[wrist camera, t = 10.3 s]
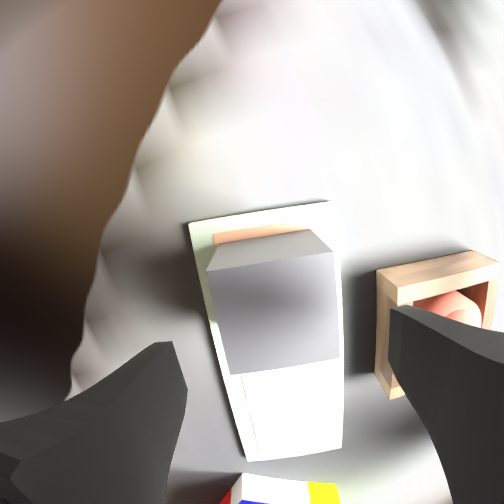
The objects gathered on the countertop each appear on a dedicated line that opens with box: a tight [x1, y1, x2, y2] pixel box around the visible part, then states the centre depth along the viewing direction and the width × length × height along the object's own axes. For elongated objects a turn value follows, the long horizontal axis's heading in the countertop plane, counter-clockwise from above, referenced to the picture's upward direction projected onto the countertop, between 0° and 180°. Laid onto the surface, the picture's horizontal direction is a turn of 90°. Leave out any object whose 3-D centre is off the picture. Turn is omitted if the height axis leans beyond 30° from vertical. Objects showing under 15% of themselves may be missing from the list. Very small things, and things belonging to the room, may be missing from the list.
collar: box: [374, 250, 500, 400], centre depth 17 cm, size 8×8×3 cm
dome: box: [413, 290, 481, 328], centre depth 16 cm, size 5×5×4 cm
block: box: [206, 229, 340, 375], centre depth 15 cm, size 5×5×5 cm
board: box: [188, 201, 344, 462], centre depth 19 cm, size 8×20×1 cm, turn 9°
